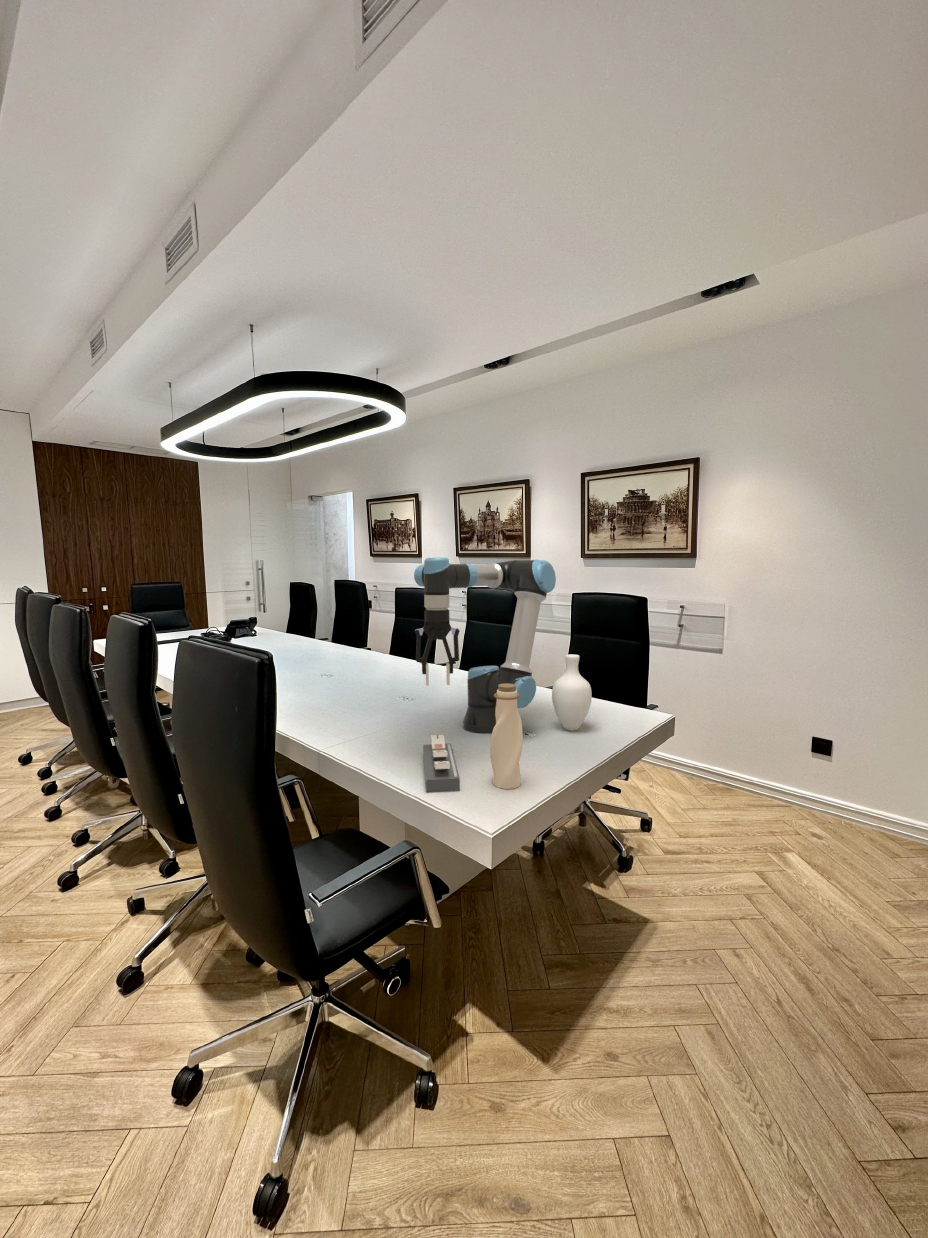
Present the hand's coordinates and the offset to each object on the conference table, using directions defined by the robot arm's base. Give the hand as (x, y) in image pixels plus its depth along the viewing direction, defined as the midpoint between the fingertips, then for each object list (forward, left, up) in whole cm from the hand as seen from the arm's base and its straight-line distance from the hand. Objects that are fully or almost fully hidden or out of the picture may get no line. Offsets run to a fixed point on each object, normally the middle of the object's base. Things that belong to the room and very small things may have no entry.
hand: (437, 684), depth 160 cm
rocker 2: (0, +7, -19) cm, 21 cm away
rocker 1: (0, -2, -19) cm, 19 cm away
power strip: (0, +3, -25) cm, 25 cm away
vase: (-51, -27, -25) cm, 63 cm away
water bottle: (-18, +17, -25) cm, 35 cm away
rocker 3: (0, +16, -19) cm, 25 cm away
